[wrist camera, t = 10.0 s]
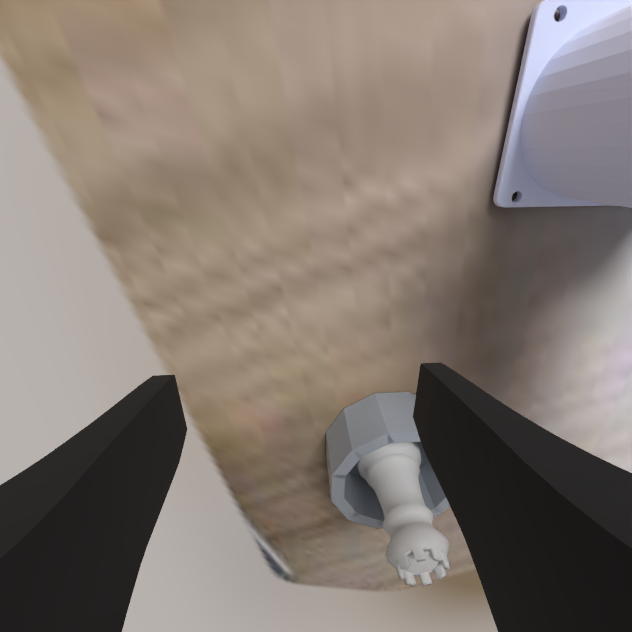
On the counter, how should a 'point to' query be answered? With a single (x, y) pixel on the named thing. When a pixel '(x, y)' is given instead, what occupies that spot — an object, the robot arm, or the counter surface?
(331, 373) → the counter surface
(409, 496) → the rook chess piece
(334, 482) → the grey faceted bowl
